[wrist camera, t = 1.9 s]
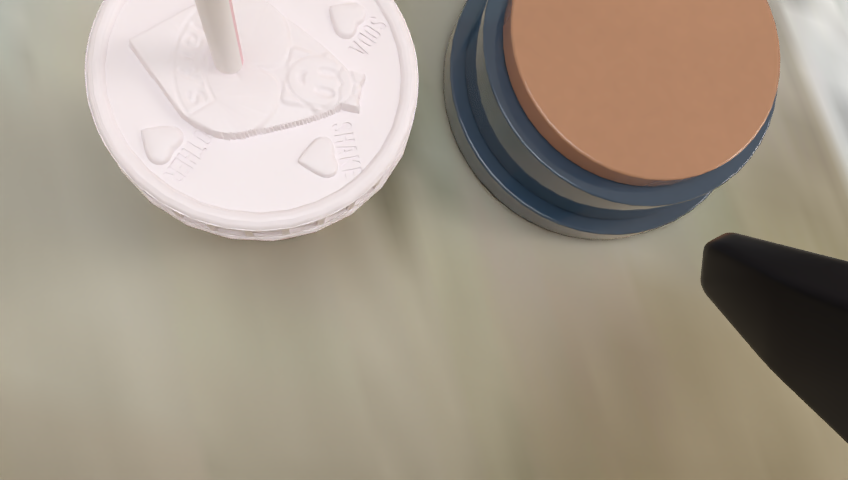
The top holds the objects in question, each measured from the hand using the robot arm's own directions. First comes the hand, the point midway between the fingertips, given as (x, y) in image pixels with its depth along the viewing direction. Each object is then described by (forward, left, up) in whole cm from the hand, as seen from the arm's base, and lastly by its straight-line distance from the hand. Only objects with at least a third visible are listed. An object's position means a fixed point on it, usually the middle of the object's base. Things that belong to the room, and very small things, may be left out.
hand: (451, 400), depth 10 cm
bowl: (-1, -13, -13) cm, 18 cm away
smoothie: (+6, -3, -13) cm, 15 cm away
